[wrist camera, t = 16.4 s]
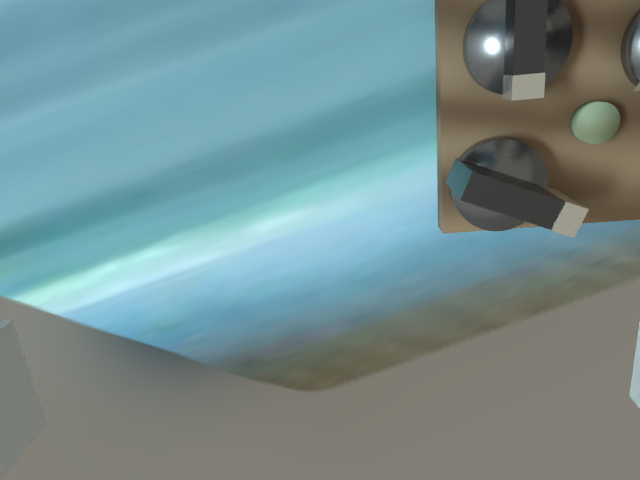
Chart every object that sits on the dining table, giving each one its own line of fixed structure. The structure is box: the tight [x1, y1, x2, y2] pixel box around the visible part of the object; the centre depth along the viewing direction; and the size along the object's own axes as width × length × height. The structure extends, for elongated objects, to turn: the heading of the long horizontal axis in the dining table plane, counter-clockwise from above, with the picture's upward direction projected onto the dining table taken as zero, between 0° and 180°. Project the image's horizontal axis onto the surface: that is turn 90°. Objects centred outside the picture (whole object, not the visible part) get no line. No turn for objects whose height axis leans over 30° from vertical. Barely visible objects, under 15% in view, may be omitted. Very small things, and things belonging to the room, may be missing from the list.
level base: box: [435, 0, 640, 233], centre depth 37 cm, size 18×20×3 cm
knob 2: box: [446, 137, 589, 238], centre depth 36 cm, size 8×7×7 cm
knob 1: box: [463, 0, 573, 101], centre depth 34 cm, size 7×7×4 cm
